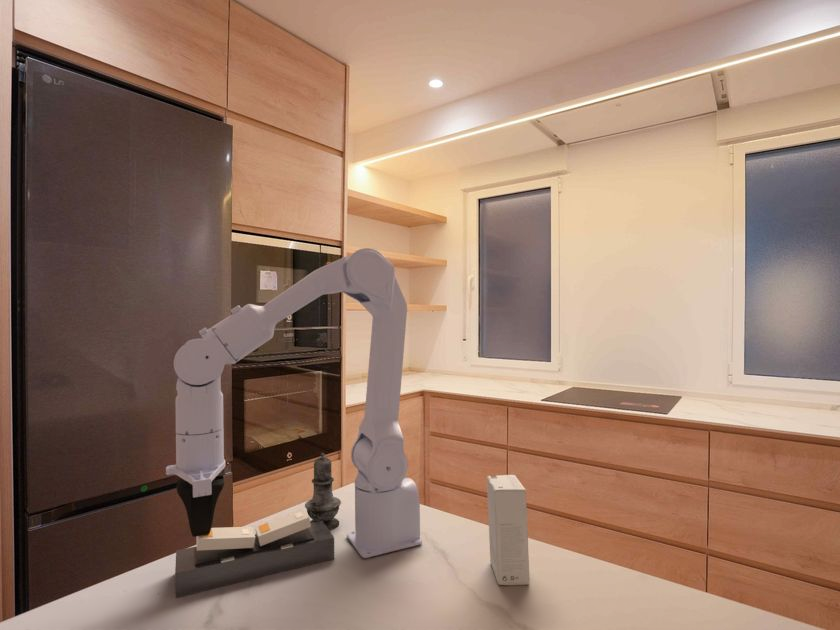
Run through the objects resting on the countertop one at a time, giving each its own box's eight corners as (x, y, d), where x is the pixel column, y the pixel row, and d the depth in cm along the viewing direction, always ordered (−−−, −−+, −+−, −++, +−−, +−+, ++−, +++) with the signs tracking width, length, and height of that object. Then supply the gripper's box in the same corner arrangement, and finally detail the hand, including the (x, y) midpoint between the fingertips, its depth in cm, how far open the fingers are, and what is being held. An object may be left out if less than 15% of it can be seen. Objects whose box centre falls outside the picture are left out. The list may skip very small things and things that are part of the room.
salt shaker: (333, 534, 74) (332, 458, 74) (298, 531, 76) (297, 456, 76) (346, 518, 80) (345, 448, 80) (314, 516, 81) (313, 446, 81)
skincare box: (531, 585, 60) (529, 489, 60) (495, 586, 59) (494, 490, 59) (519, 560, 66) (518, 473, 66) (487, 561, 66) (486, 474, 66)
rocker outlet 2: (305, 517, 70) (303, 507, 70) (311, 526, 67) (309, 516, 67) (256, 535, 67) (254, 525, 67) (260, 546, 64) (258, 536, 63)
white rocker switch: (250, 536, 66) (252, 526, 67) (253, 547, 63) (255, 536, 63) (196, 538, 63) (198, 527, 64) (196, 550, 60) (198, 538, 60)
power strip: (322, 539, 72) (322, 519, 72) (334, 558, 67) (334, 536, 67) (176, 572, 64) (176, 549, 64) (175, 597, 58) (175, 571, 58)
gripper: (167, 422, 67) (168, 518, 67) (163, 447, 54) (164, 566, 54) (221, 417, 70) (222, 509, 70) (229, 439, 57) (230, 552, 57)
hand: (201, 533), depth 62 cm, fingers closed, pressing on white rocker switch
